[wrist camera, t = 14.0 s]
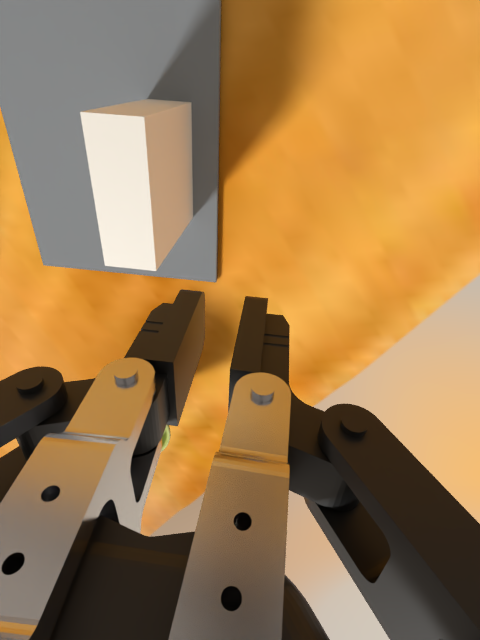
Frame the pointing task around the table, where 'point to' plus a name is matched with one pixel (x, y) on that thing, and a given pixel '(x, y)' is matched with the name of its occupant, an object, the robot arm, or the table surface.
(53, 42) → the slate mat
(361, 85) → the table surface
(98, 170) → the cream block
